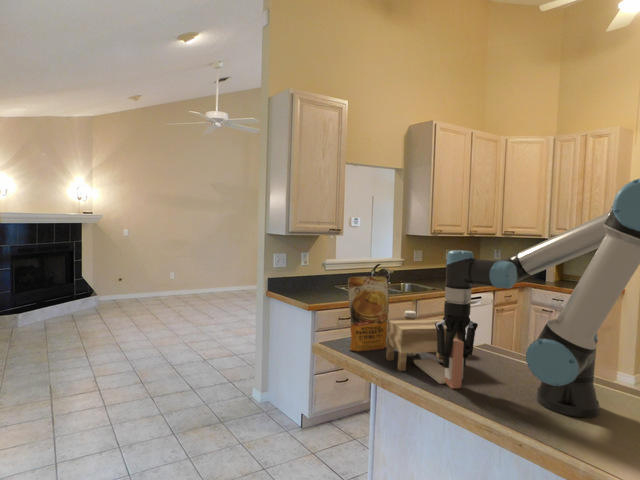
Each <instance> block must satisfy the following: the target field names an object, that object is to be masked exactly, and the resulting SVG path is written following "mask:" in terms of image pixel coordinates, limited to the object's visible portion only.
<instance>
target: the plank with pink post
mask: <svg viewBox="0 0 640 480" xmlns="http://www.w3.org/2000/svg"><path fill="white" fill-rule="evenodd" d="M463 347H464V342H462V341H460V340H458V339H457V338H456V339H454V340H453V345H452V351H451V356H450V357H451V358H453V361H452V380H449V379H448V378H446V377H445V367H444V366H443V365H441V364H440V363H439V362H437V361H436V360H435V359H433V358H427V359H425V358H423V359H421V358H420V359H413V364H415V365H416V366H417V367H418V368H419V369H421V371H423V372H424V373H425V374H427V375H428V376H429V377H431V379H433V380H434V381H436V382H437V383H438V384H441V385H442V384H445V385H447V386H448V387H449V388H450V389H462V380H463V379H462V365H463Z"/></svg>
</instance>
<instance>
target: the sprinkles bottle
mask: <svg viewBox="0 0 640 480" xmlns="http://www.w3.org/2000/svg"><path fill="white" fill-rule="evenodd" d="M416 317H417V312H416V311H414V310H405V311H404V320H416V319H417V318H416Z"/></svg>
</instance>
